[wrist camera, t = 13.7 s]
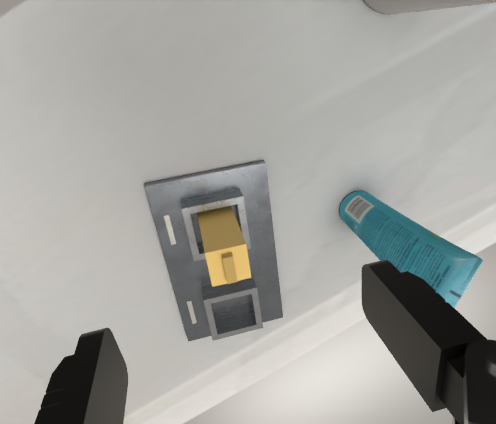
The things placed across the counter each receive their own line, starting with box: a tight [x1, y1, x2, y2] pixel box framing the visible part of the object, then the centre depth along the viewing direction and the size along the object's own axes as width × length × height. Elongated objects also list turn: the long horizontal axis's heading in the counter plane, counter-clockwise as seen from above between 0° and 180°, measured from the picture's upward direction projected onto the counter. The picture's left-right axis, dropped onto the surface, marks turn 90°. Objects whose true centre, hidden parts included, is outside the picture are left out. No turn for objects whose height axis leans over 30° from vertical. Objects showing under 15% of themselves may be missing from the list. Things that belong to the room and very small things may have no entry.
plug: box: [197, 206, 251, 287], centre depth 39 cm, size 4×4×11 cm
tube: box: [340, 191, 483, 308], centre depth 40 cm, size 7×5×19 cm, turn 169°
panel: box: [144, 160, 283, 341], centre depth 46 cm, size 14×24×4 cm, turn 8°
